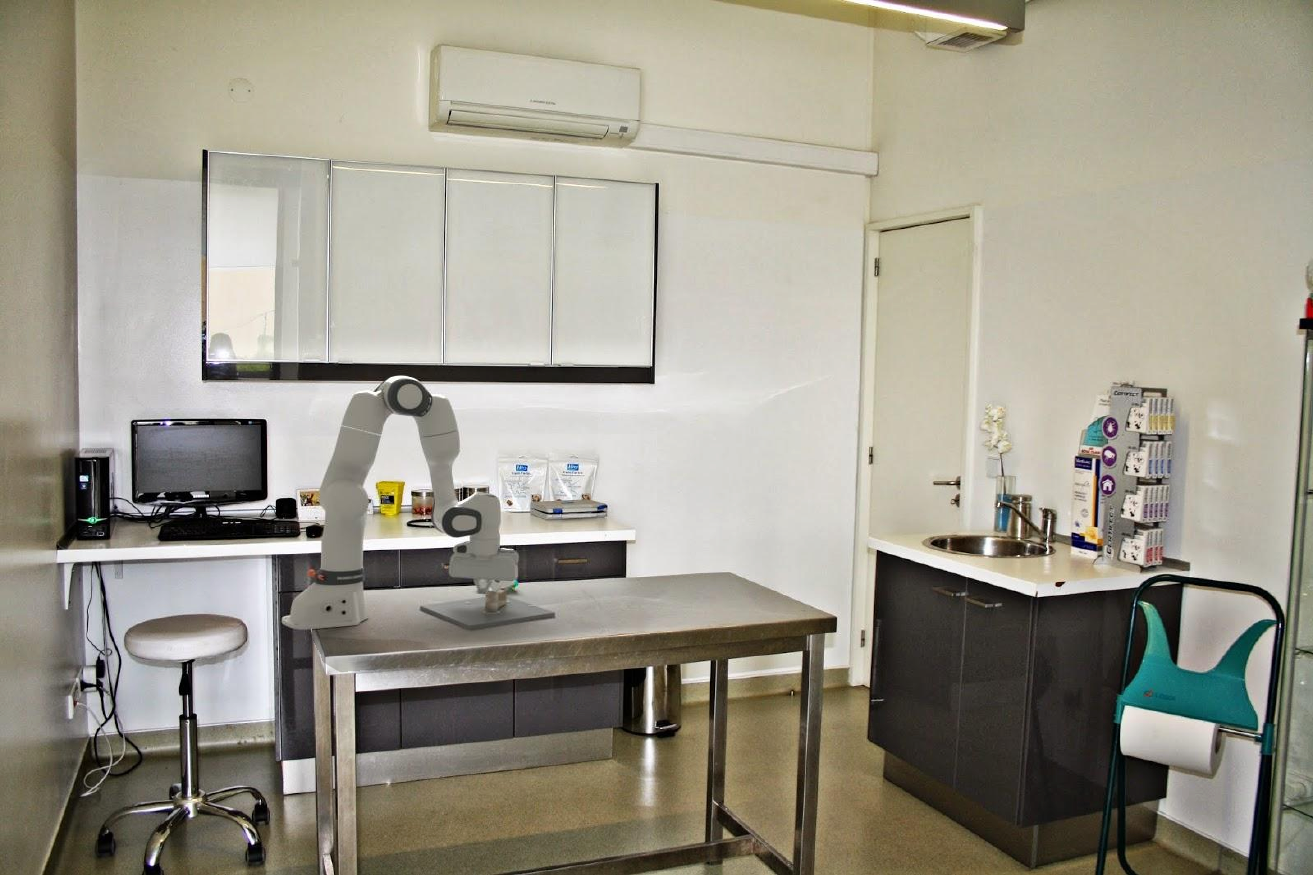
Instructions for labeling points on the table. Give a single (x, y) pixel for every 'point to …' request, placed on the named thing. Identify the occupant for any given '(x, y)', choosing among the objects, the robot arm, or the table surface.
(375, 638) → the table surface
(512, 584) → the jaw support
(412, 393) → the robot arm
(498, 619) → the board
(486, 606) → the brown rectangular block
